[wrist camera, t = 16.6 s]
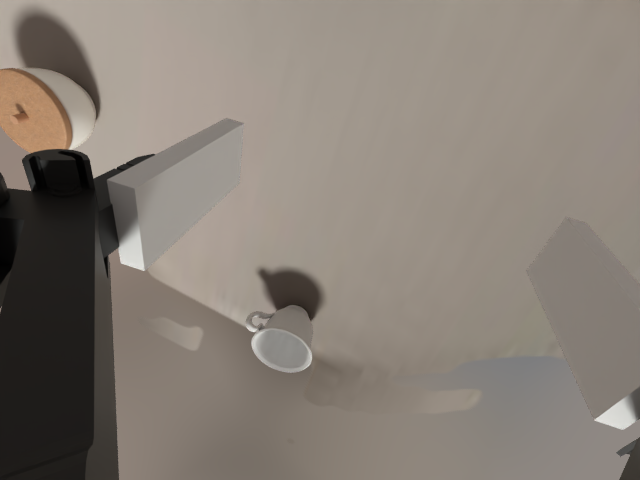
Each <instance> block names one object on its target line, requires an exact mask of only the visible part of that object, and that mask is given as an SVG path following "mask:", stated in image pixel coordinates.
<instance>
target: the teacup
mask: <svg viewBox="0 0 640 480" xmlns="http://www.w3.org/2000/svg"><path fill="white" fill-rule="evenodd" d="M253 317H259V318H263V319H268V318H270V319H269V320H268V322H267V323H266V325H265V326H263V324H259V325H258V326H254V325H253V324H252V318H253ZM246 327H247V329H248V330H250V331H252V332H255V331H257V330H258V329H259V331H258V332H257V333H256V334H255V335H254V336H253V338H252V342H251V344H252V348H253V351H254V353H255V354H256V356H257V357H258V358H259V359H260V360H261V361H262V362H263V363H265V364H266V365H267V366H269V367H271V368H273V369H276V370H279V371H283V372H298V371H301V370H303V369H306V368H307V367H308V366H309V365H310V363H311V361H312V354H311V351H310V347H311V341H312V334H313V327H312V323H311V321H310V319H309V316H308V313H307V312H306V311H305V310H304V309H303V308H302V307H299V306H296V305H289V306H287V307H285V308H282V309H280V310H278V311H276V312H275V313H272V314H266V313H263V312H259V311H256V312H253V313H251V314H250V315H249V316H248V317H247V319H246Z"/></svg>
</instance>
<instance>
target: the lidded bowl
mask: <svg viewBox="0 0 640 480" xmlns="http://www.w3.org/2000/svg"><path fill="white" fill-rule="evenodd" d="M95 119H96V108H95V105H94V102H93V100H92V98H91V97H90V95H89V94H88V93H87V92H86V91H85V89H83V88H82V87H81V86H80V85H78V84H76V83H75V82H74V81H73V80H71V79H70V78H68V77H66V76H64V75H62V74H60V73H58V72H55V71H51V70H48V69H41V68H18V69H15V68H8V69H0V126H1V127H2V128H3V130H4V131H5V132H6V134H7V135H8V136H9V137H10V138H11V139H12V140H14V142H15V143H16V144H18V145H19V146H20V147H22V148H23V149H25V150H26V151H28V152H30V153H33V152H36V151H41V150H46V149H68V150H72V149H74V148H76V147H78V146H80V145H81V144H82V143H84V142H85V141H86V140H87V139H88V138H89V137H90V135H91V134H92V132H93V130H94V127H95Z"/></svg>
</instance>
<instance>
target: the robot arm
mask: <svg viewBox="0 0 640 480" xmlns="http://www.w3.org/2000/svg"><path fill="white" fill-rule="evenodd" d="M243 130H244V123H242V122H238V121H235V120H231V119H228V118H226V119H224V120H222V121H220V122H218V123H216V124H214V125H212V126H210V127H208V128H206V129H204V130H203V131H201V132H199V133H197V134H195V135H193V136H191V137H189V138H187V139H185V140H183V141H181V142H179V143H177V144H175V145H173V146H171V147H170V148H168V149H166V150H164V151H162V152H160V153H158V154H156V155H155V154H151V155H146V156H141V157H137V158H135V159H133V160H131V161H129V162H127V163H126V164H123V165H121V166H119V167H117V169H113V170H111V171H109V172H107V173H105V174H102V175H100V176H98V177H96V178H94V179H93V175H92V170H91V165H90V160H89V158H88V156H87V155H85V154H83V153H81V152H78V151H74V150H68V149H46V150H41V151H36V152H33V153H31V154H28V155H26V156H25V157H24V158H23V160H22V163H23V166H24V169H25V172H26V175H27V178H28V181H29V184H30V187H31V191H27V190H18V189H8V188H7V186H6V183H5V181H4V178H3V176H2V174H1V173H0V308H1V306H2V308H1V312H0V480H119V473H118V471H119V470H118V446H117V423H116V400H115V399H116V398H115V376H114V351H113V326H112V302H111V280H110V279H111V278H110V262H109V257H108V255H109V254H111V253H112V252H113V251H114V250H116V249H117V248H118V249H119V254H120V260H121V263H122V264H125V265H128V266H131V267H134V268H137V269H140V270H143V271H145V270H146V269H147V268H148V267H150V266H151V265H152V264H153V263H154V262H155V261H156V260H157V259H158V258H159V257H160V256H161V255H162V254H164V253H165V252H166V251H167V250H168V249H169V248H170V247H171V246H172V245H173V244H174V243H175V242H177V241H178V240H179V239H180V238H181V237H182V236H183V235H184V234H185V233H186V232H187V231H188V230H189V229H191V228H192V227H193V226H194V225H195V224H196V223H197V222H198V221H199V220H200V219H201V218H202V217H203V216H205V215H206V214H207V213H208V212H209V211H210V210H211V209H212V208H213V207H214V206H215V205H216V204H217V203H219V202H220V201H221V200H222V199H223V198H224V197H225V196H226V195H227V194H228V193H229V192H230V191H232V190H233V189H234V188H235V187H236V186H237V185H238V184H239V181H240V168H241V156H242V143H243ZM526 271H527V273H528V276H529V278H530V280H531V282H532V285H533V287H534V289H535V291H536V293H537V296H538V298H539V300H540V302H541V304H542V307H543V309H544V311H545V313H546V315H547V318H548V320H549V322H550V324H551V326H552V329H553V331H554V333H555V335H556V338H557V340H558V342H559V344H560V346H561V349H562V351H563V353H564V355H565V357H566V360H567V362H568V364H569V366H570V368H571V371H572V373H573V375H574V377H575V379H576V382H577V384H578V386H579V388H580V390H581V393H582V395H583V397H584V399H585V402H586V404H587V406H588V408H589V410H590V412H591V415H592V417H593V419H594V420H595V421H598V422H601V423H604V424H607V425H610V426H613V427H616V428H619V429H622V430H623V429H625V428H627V427H628V426H630V425H631V424H633V423H634V422H636V421H637V420H639V419H640V285H639V283H638V282H637V281H636V280H635V279H634V278H633V276H632V275H631V274H630V273H629V272H628V271H627V269H626V268H625V267H624V266H623V265H622V264H621V262H620V261H619V260H618V259H617V258H616V257H615V255H614V254H613V253H612V252H611V251H610V250H609V249H608V247H607V246H606V245H605V244H604V243H603V242H602V240H601V239H600V238H599V237H598V236H597V235H596V233H595V232H594V231H593V230H592V229H591V228H590V226H589V225H588V224H587V223H585V222H582V221H578V220H575V219H571V218H568V217H566V218H565V219H564V221H563V222H562V223H561V225H560V226H559V227H558V229H557V230H556V231H555V233H554V234H553V235H552V237H551V238H550V239H549V241H548V242H547V244H546V245H545V246H544V248H543V249H542V250H541V252H540V253H539V254H538V256H537V257H536V258H535V260H534V261H533V262H532V264H531V265H530V266H529V268H528V269H527V270H526ZM617 454H618V455H620V456H622V455H624V454H630V457H629V459H628V462H627V464H626V466H625V468H624V470H623V473H622V475H621V477H620V480H640V437H639V438H638V439H636V440H635V441H633V442H631V443H630V444H628V445H627V446H625V447H623V448H622V449H620V450H619V451H618V452H617Z"/></svg>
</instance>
